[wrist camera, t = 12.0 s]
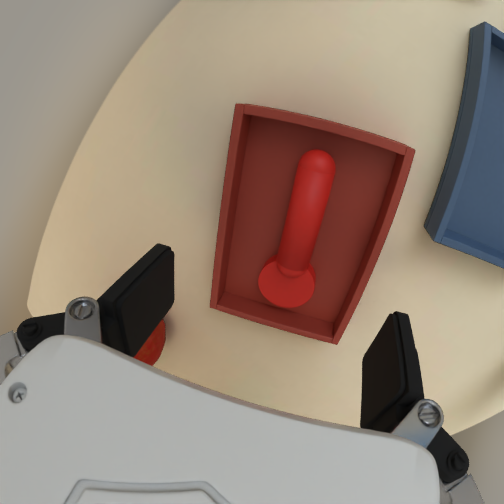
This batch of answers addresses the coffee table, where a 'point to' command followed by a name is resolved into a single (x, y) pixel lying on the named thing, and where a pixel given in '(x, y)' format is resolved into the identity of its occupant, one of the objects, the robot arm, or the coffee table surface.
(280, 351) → the coffee table surface
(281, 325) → the red tray
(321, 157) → the red spoon
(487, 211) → the blue tray
